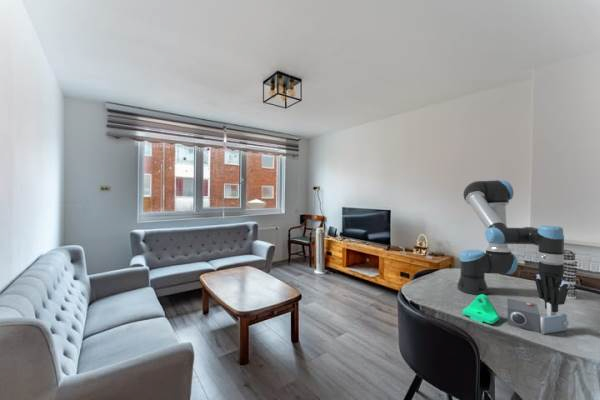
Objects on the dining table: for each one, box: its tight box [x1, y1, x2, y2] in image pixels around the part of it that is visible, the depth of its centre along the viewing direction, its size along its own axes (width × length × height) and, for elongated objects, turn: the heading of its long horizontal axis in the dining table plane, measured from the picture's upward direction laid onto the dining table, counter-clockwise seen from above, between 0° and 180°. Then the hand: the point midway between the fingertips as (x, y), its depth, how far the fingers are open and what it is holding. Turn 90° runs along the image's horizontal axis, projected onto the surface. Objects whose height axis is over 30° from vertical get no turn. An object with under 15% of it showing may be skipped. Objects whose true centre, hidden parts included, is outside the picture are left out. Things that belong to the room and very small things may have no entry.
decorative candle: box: [559, 249, 578, 300], centre depth 135 cm, size 9×9×25 cm
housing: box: [507, 298, 541, 334], centre depth 108 cm, size 10×13×8 cm
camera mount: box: [462, 294, 500, 325], centre depth 113 cm, size 12×8×10 cm, turn 32°
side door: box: [540, 313, 569, 335], centre depth 100 cm, size 1×12×7 cm, turn 99°
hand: (551, 318), depth 104 cm, fingers closed
